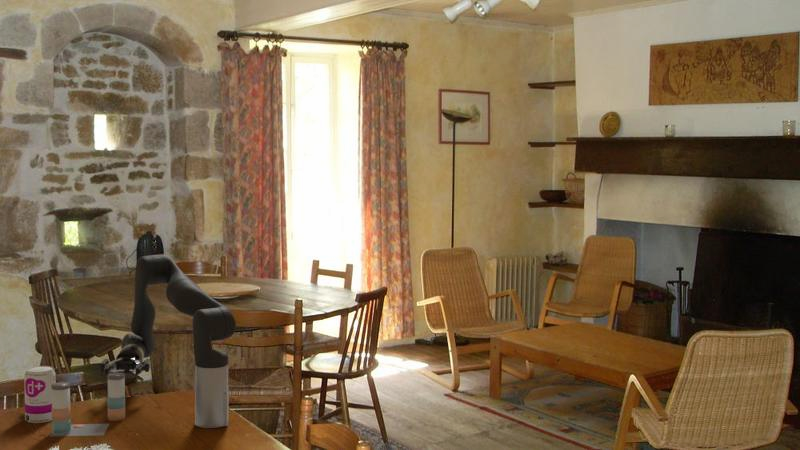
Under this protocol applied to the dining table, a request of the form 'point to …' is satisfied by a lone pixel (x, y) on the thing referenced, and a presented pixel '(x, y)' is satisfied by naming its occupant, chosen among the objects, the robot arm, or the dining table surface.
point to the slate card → (86, 430)
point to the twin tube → (61, 408)
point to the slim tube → (116, 396)
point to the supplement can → (38, 393)
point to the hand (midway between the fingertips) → (122, 372)
